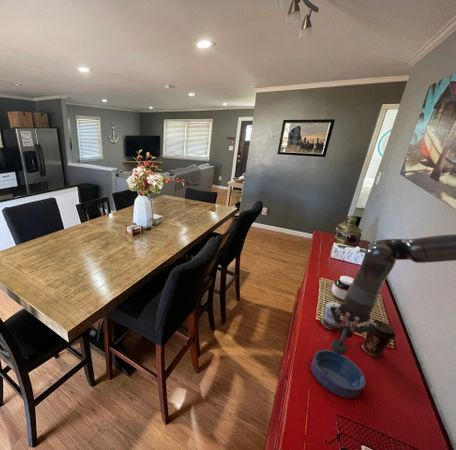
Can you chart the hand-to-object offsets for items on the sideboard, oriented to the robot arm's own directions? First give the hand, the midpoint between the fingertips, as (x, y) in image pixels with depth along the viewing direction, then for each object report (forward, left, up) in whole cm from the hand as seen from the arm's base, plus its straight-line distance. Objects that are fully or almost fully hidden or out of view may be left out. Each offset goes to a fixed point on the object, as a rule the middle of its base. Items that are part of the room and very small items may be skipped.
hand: (343, 335), depth 87 cm
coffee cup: (-10, -21, -16) cm, 28 cm away
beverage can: (+6, -23, -16) cm, 29 cm away
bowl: (-2, +5, -16) cm, 17 cm away
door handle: (0, 0, -3) cm, 3 cm away
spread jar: (+6, -55, -16) cm, 58 cm away
